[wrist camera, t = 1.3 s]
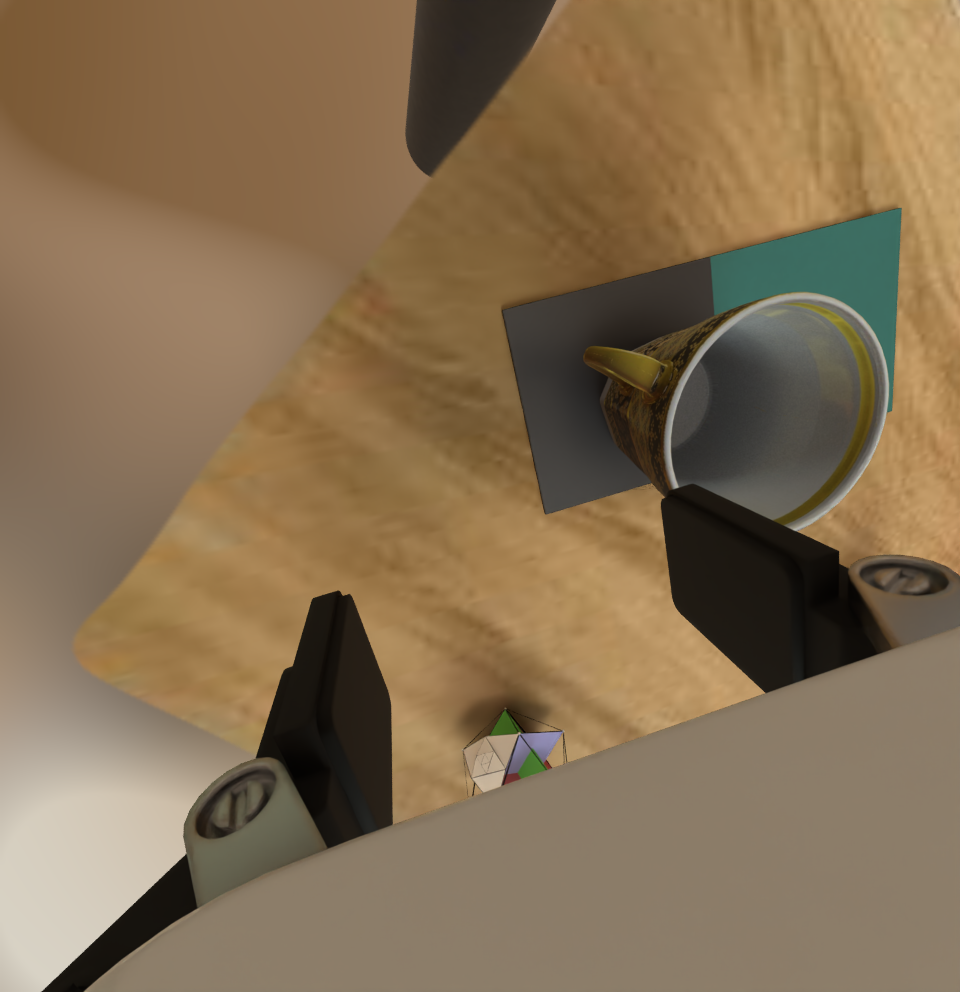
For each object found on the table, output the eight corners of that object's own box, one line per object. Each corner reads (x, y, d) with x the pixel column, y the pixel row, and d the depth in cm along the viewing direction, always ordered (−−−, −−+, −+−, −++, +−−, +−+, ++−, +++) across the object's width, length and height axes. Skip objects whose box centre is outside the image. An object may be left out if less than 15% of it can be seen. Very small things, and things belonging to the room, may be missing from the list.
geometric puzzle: (603, 739, 34) (580, 808, 26) (555, 814, 35) (520, 900, 28) (515, 675, 36) (472, 721, 29) (473, 747, 37) (421, 810, 30)
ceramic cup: (759, 347, 29) (935, 350, 20) (684, 500, 31) (811, 568, 22) (567, 255, 26) (671, 207, 16) (499, 434, 28) (555, 483, 19)
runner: (501, 310, 26) (502, 310, 26) (898, 208, 28) (901, 207, 28) (544, 513, 30) (545, 514, 30) (889, 410, 32) (892, 411, 32)
